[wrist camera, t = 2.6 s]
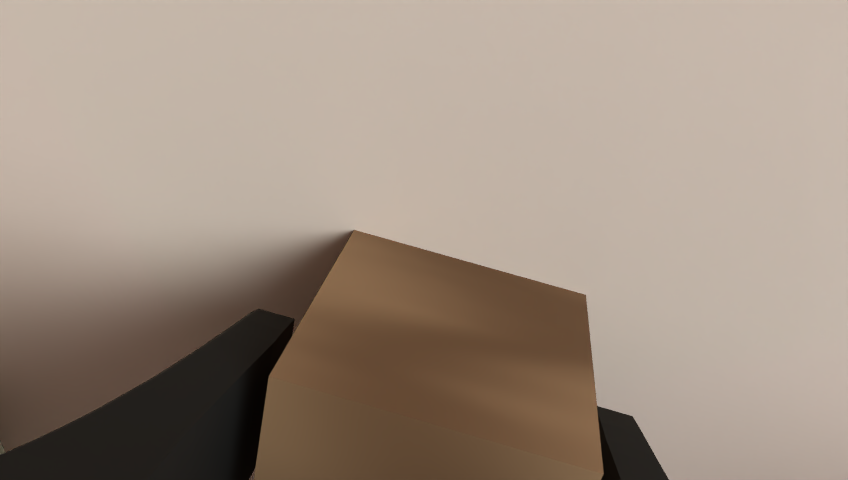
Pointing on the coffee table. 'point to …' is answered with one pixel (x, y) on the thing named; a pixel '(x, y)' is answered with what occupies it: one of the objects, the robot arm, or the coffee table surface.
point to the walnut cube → (432, 376)
